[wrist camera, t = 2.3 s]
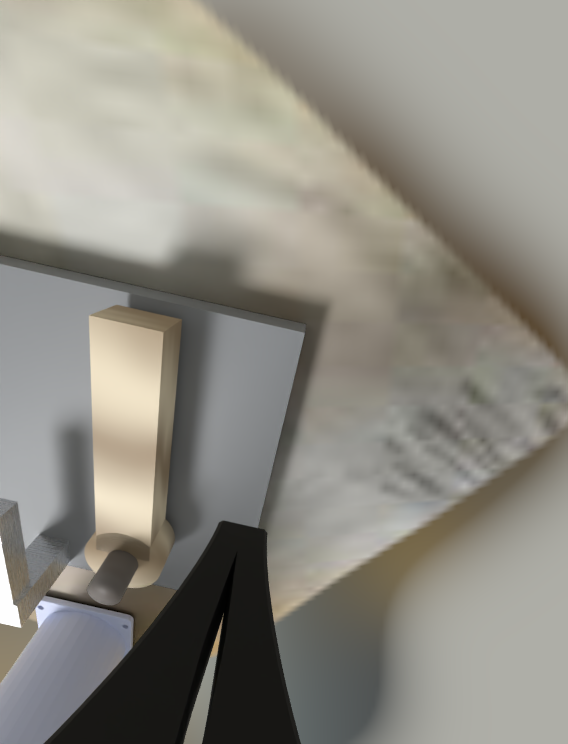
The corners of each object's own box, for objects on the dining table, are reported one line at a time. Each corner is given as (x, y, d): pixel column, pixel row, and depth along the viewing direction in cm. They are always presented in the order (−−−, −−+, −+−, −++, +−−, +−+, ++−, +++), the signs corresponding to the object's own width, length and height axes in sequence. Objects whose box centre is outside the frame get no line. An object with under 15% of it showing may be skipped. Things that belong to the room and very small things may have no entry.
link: (173, 560, 22) (144, 628, 18) (107, 545, 22) (64, 610, 18) (198, 321, 15) (161, 351, 12) (103, 300, 15) (36, 323, 12)
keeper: (70, 561, 23) (21, 627, 19) (41, 554, 23) (-14, 620, 19) (62, 464, 20) (1, 521, 16) (29, 456, 20) (-41, 512, 16)
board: (243, 583, 25) (239, 604, 23) (-23, 523, 25) (-43, 540, 23) (306, 324, 17) (305, 332, 15) (-89, 234, 17) (-125, 235, 15)
